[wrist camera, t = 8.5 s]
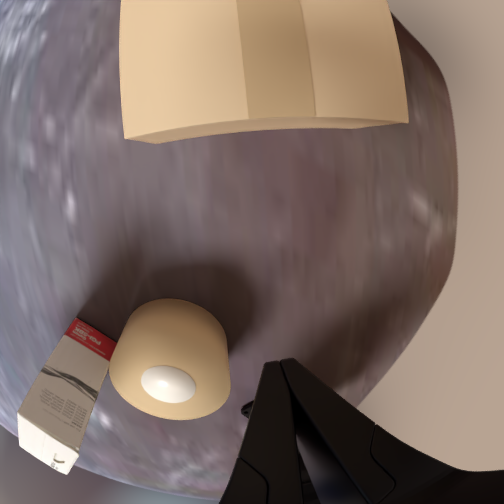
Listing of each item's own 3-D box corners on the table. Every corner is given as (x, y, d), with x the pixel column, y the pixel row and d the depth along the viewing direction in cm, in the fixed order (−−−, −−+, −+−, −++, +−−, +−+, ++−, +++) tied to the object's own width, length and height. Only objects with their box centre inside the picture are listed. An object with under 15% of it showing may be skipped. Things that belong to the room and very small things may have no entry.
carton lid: (402, 123, 12) (409, 122, 11) (128, 139, 11) (124, 138, 10) (377, -10, 9) (383, -14, 8) (125, -11, 8) (122, -17, 7)
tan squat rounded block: (247, 350, 23) (255, 392, 18) (175, 391, 24) (171, 431, 19) (177, 277, 20) (167, 313, 15) (106, 332, 21) (87, 370, 16)
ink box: (75, 313, 20) (13, 410, 9) (120, 342, 21) (81, 452, 10) (57, 365, 22) (16, 447, 11) (95, 389, 23) (66, 476, 12)
